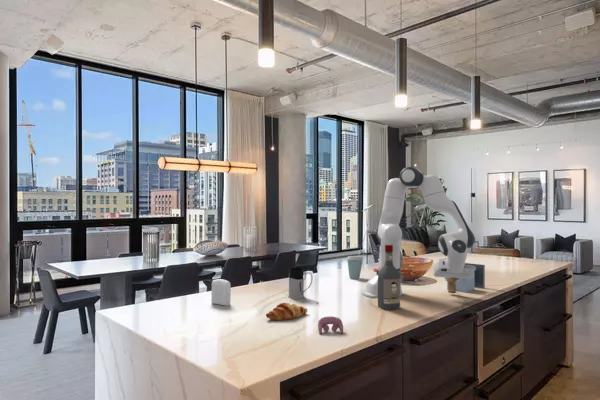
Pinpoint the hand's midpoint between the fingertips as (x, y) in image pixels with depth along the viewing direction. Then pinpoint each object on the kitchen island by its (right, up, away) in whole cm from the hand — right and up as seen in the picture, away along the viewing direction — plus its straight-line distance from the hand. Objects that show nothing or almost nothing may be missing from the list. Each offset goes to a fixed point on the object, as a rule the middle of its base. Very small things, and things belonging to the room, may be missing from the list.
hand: (452, 280), depth 233 cm
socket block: (+10, -8, +13) cm, 18 cm away
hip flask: (-23, -9, +45) cm, 51 cm away
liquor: (-39, -8, -26) cm, 48 cm away
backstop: (+12, -8, +16) cm, 22 cm away
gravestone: (-121, -9, -19) cm, 123 cm away
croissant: (-88, -9, -43) cm, 98 cm away
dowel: (0, -6, -1) cm, 6 cm away
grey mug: (-82, -9, -4) cm, 82 cm away
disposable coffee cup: (-46, -9, +52) cm, 70 cm away
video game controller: (-70, -9, -64) cm, 95 cm away
